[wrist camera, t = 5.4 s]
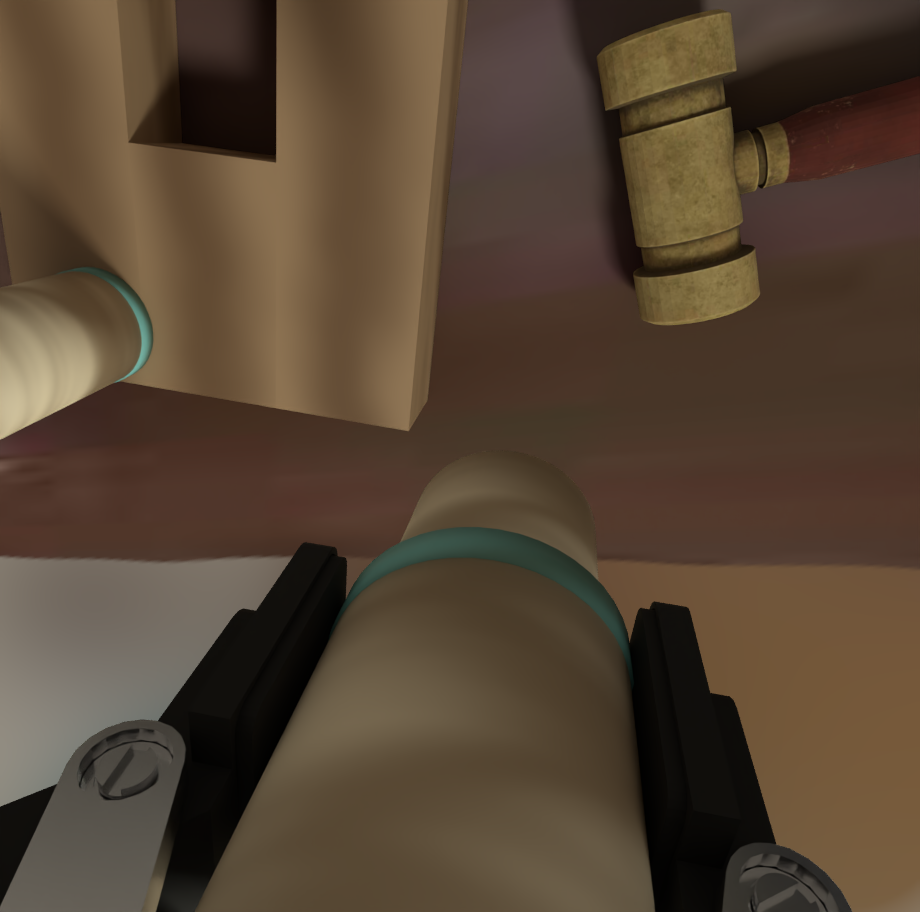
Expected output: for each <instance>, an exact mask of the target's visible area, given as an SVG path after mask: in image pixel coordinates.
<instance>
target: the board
mask: <svg viewBox="0 0 920 912" xmlns="http://www.w3.org/2000/svg"><path fill="white" fill-rule="evenodd" d="M467 6H468V0H277V72H276V156H274V155H267V154H259V153H252V152H244V151H237V150H230V149H222V148H215V147H207V146H200V145H193V144H185V143H182V125H181V105H180V85H179V66H178V46H177V26H176V6H175V0H0V210H1V216H2V223H3V229H4V235H5V241H6V248H7V254H8V260H9V267H10V273H11V279H12V285H11V286H6V287H2V288H0V439H2V438H4V437H6V436H8V435H10V434H12V433H14V432H16V431H18V430H20V429H22V428H24V427H26V426H28V425H30V424H32V423H34V422H36V421H38V420H40V419H42V418H44V417H46V416H48V415H50V414H52V413H54V412H56V411H58V410H60V409H62V408H64V407H66V406H68V405H70V404H72V403H74V402H76V401H78V400H80V399H82V398H84V397H86V396H88V395H90V394H92V393H94V392H96V391H98V390H100V389H102V388H104V387H106V386H108V385H110V384H112V383H115V382H118V381H122V382H128V383H134V384H139V385H145V386H151V387H157V388H163V389H168V390H174V391H180V392H186V393H192V394H197V395H203V396H209V397H215V398H220V399H226V400H232V401H238V402H244V403H249V404H255V405H261V406H267V407H273V408H278V409H284V410H290V411H296V412H302V413H307V414H313V415H319V416H325V417H331V418H336V419H342V420H348V421H354V422H359V423H365V424H371V425H377V426H383V427H388V428H394V429H400V430H406V431H409V429H410V428H411V426H412V425H413V423H414V421H415V420H416V418H417V416H418V415H419V413H420V412H421V410H422V408H423V407H424V405H425V403H426V402H427V399H428V389H429V380H430V370H431V360H432V350H433V340H434V330H435V321H436V311H437V301H438V291H439V281H440V272H441V262H442V252H443V242H444V232H445V222H446V213H447V203H448V193H449V183H450V173H451V164H452V154H453V144H454V134H455V124H456V114H457V105H458V95H459V85H460V75H461V65H462V55H463V46H464V36H465V26H466V16H467Z"/></svg>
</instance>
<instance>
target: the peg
mask: <svg viewBox="0 0 920 912" xmlns="http://www.w3.org/2000/svg"><path fill="white" fill-rule="evenodd" d="M633 686H634V677H633V668H632V659H631V650H630V644H629V638H628V632H627V629H626V627H625V623H624V621H623V618H622V616H621V614H620V612H619V610H618V608H617V606H616V604H615V602H614V600H613V599H612V598H611V596H610V595H609V593H608V592H607V591H606V589H605V588H604V587H603V586H602V584H601V583H600V582H599V581H598V569H597V551H596V533H595V524H594V518H593V515H592V511H591V508H590V506H589V504H588V502H587V500H586V498H585V496H584V495H583V493H582V492H581V490H580V489H579V487H578V486H577V485H576V484H575V483H574V482H573V481H572V480H571V479H570V478H569V477H568V476H567V475H566V474H565V473H563V472H562V471H561V470H559V469H558V468H556V467H555V466H553V465H552V464H550V463H548V462H546V461H544V460H542V459H540V458H537V457H534V456H531V455H528V454H524V453H519V452H513V451H486V452H480V453H475V454H472V455H468V456H465V457H463V458H461V459H458V460H456V461H454V462H453V463H451V464H449V465H448V466H446V467H445V468H443V469H442V470H441V471H440V472H438V473H437V474H436V475H435V476H434V477H433V479H432V480H431V481H430V482H429V483H428V485H427V486H426V488H425V489H424V491H423V493H422V495H421V497H420V499H419V501H418V503H417V506H416V508H415V510H414V513H413V515H412V517H411V519H410V522H409V524H408V526H407V529H406V531H405V533H404V535H403V538H402V540H401V542H400V543H398V544H397V545H395V546H393V547H391V548H389V549H388V550H386V551H385V552H384V553H382V554H381V555H380V556H378V557H377V558H376V559H374V560H373V561H372V562H371V563H370V564H369V565H368V567H366V569H365V570H364V571H363V572H362V573H361V574H360V576H359V577H358V579H357V580H356V582H355V583H354V584H353V586H352V588H351V590H350V592H349V594H348V596H347V598H346V600H345V602H344V604H343V606H342V608H341V610H340V612H339V614H338V616H337V618H336V620H335V622H334V624H333V626H332V629H331V632H330V635H329V639H328V643H327V645H326V647H325V649H324V651H323V653H322V655H321V657H320V659H319V661H318V663H317V666H316V668H315V670H314V672H313V674H312V676H311V678H310V680H309V682H308V684H307V686H306V688H305V690H304V692H303V694H302V696H301V698H300V700H299V702H298V704H297V706H296V708H295V710H294V712H293V714H292V716H291V718H290V720H289V722H288V724H287V726H286V728H285V730H284V732H283V734H282V736H281V738H280V740H279V742H278V744H277V746H276V748H275V750H274V752H273V754H272V756H271V758H270V760H269V762H268V764H267V766H266V768H265V770H264V772H263V774H262V777H261V779H260V781H259V783H258V785H257V787H256V789H255V791H254V793H253V795H252V797H251V799H250V801H249V803H248V805H247V807H246V809H245V811H244V813H243V815H242V817H241V819H240V821H239V823H238V825H237V827H236V829H235V831H234V833H233V835H232V837H231V839H230V841H229V843H228V845H227V847H226V849H225V851H224V853H223V855H222V857H221V859H220V861H219V863H218V865H217V867H216V869H215V871H214V873H213V875H212V877H211V879H210V881H209V883H208V885H207V888H206V890H205V892H204V894H203V896H202V898H201V900H200V902H199V904H198V906H197V908H196V910H195V912H655V906H654V896H653V887H652V877H651V868H650V859H649V849H648V840H647V830H646V821H645V812H644V802H643V793H642V783H641V774H640V765H639V755H638V746H637V736H636V727H635V717H634V708H633V699H632V689H633Z"/></svg>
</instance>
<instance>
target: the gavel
mask: <svg viewBox="0 0 920 912" xmlns="http://www.w3.org/2000/svg"><path fill="white" fill-rule="evenodd" d="M597 63H598V69H599V75H600V81H601V87H602V93H603V98H604V104H605V110H614V109H619V115H620V121H621V127H622V133H623V136H622V137H621V138H620V139H619V142H620V148H621V154H622V160H623V166H624V172H625V179H626V185H627V191H628V197H629V203H630V209H631V215H632V221H633V227H634V233H635V240H636V245H637V246H638V247H641V251H642V257H643V263H644V266H642V267H640V268H638V269H637V270H636V271H634V273H633V277H634V283H635V289H636V295H637V301H638V307H639V313H640V318H641V319H642V320H644V321H647V322H649V323H652V324H658V325H679V324H688V323H695V322H701V321H705V320H710V319H714V318H718V317H722V316H725V315H728V314H731V313H734V312H737V311H739V310H741V309H743V308H745V307H747V306H748V305H750V304H751V303H752V302H754V301H755V300H756V299H757V298H758V297H759V295H760V291H759V282H758V272H757V262H756V253H755V247H754V246H751V245H742V244H741V239H740V230H739V224H741V223H742V222H743V215H742V206H741V197H740V195H741V194H745V193H749V192H753V191H755V190H756V188H757V185H758V186H759V187H760V188H765V187H769V186H773V185H777V184H781V183H788V182H799V181H809V180H819V179H823V178H827V177H830V176H834V175H838V174H842V173H846V172H850V171H853V170H857V169H861V168H865V167H869V166H873V165H877V164H880V163H884V162H888V161H892V160H896V159H900V158H903V157H907V156H911V155H915V154H919V153H920V76H918V77H915V78H911V79H907V80H904V81H900V82H897V83H893V84H890V85H886V86H882V87H879V88H875V89H872V90H868V91H864V92H861V93H857V94H854V95H850V96H847V97H843V98H839V99H836V100H832V101H829V102H825V103H821V104H818V105H814V106H811V107H809V108H807V109H805V110H803V111H800V112H798V113H796V114H794V115H792V116H789V117H787V118H785V119H783V120H781V121H778V122H776V123H772V124H769V125H765V126H761V127H758V128H755V129H754V130H753V131H752V134H751V133H750V131H749V130H744V131H740V132H737V133H734V132H733V123H732V113H731V107H726V103H725V94H724V85H723V77H725V76H727V75H730V74H732V73H734V72H736V71H737V69H736V59H735V49H734V40H733V30H732V20H731V14H730V13H729V12H726V11H724V10H720V9H718V10H710V11H705V12H701V13H697V14H693V15H689V16H685V17H682V18H679V19H675V20H672V21H669V22H666V23H663V24H659V25H657V26H654V27H651V28H648V29H645V30H643V31H640V32H637V33H635V34H632V35H630V36H627V37H625V38H622V39H620V40H618V41H616V42H614V43H612V44H610V45H608V46H606V47H605V48H604V49H603V50H602V51H601V52H600V53H599V55H598V56H597Z"/></svg>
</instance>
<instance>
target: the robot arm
mask: <svg viewBox="0 0 920 912" xmlns="http://www.w3.org/2000/svg"><path fill="white" fill-rule="evenodd" d="M346 576H347V560H346V558H345V557H339V556H337V549H336V548H335V547H330V546H324V545H318V544H313V543H307V542H305V543H303V544H302V545H301V546H300V547H299V549H298V550H297V552H296V553H295V555H294V556H293V558H292V559H291V560H290V562H289V563H288V565H287V566H286V568H285V569H284V571H283V572H282V574H281V575H280V577H279V578H278V579H277V581H276V582H275V584H274V585H273V587H272V588H271V590H270V591H269V593H268V594H267V596H266V597H265V599H264V600H263V602H262V603H261V605H260V606H259V607H258V609H257V610H256V611H254V610H248V609H241V610H239V611H238V612H237V613H236V614H235V615H234V616H233V618H232V619H231V620H230V622H229V623H228V625H227V626H226V627H225V629H224V630H223V632H222V633H221V634H220V636H219V637H218V639H217V640H216V641H215V643H214V644H213V645H212V647H211V648H210V650H209V651H208V652H207V654H206V655H205V656H204V658H203V659H202V661H201V662H200V663H199V665H198V666H197V667H196V669H195V670H194V672H193V673H192V674H191V676H190V677H189V678H188V680H187V681H186V683H185V684H184V686H183V687H182V688H181V690H180V691H179V692H178V694H177V695H176V696H175V698H174V699H173V701H172V702H171V703H170V705H169V706H168V708H167V709H166V710H165V712H164V713H163V714H162V716H161V717H160V719H159V720H158V721H152V720H135V721H127V722H123V723H120V724H117V725H114V726H111V727H108V728H106V729H104V730H102V731H100V732H99V733H97V734H95V735H93V736H92V737H90V738H89V739H88V740H87V741H85V742H84V743H83V744H82V745H81V746H80V747H79V748H78V749H77V750H76V751H75V752H74V754H73V755H72V757H71V758H70V760H69V761H68V763H67V764H66V767H65V769H64V771H63V773H62V776H61V777H60V779H59V782H58V784H56V785H54V786H51V787H48V788H46V789H43V790H41V791H38V792H36V793H33V794H31V795H28V796H26V797H23V798H21V799H18V800H16V801H13V802H11V803H9V804H6V805H3V806H1V807H0V912H195V910H196V908H197V906H198V904H199V902H200V900H201V898H202V896H203V894H204V892H205V890H206V888H207V885H208V883H209V881H210V879H211V877H212V875H213V873H214V871H215V869H216V867H217V865H218V863H219V861H220V859H221V857H222V855H223V853H224V851H225V849H226V847H227V845H228V843H229V841H230V839H231V837H232V835H233V833H234V831H235V829H236V827H237V825H238V823H239V821H240V819H241V817H242V815H243V813H244V811H245V809H246V807H247V805H248V803H249V801H250V799H251V797H252V795H253V793H254V791H255V789H256V787H257V785H258V783H259V781H260V779H261V777H262V774H263V772H264V770H265V768H266V766H267V764H268V762H269V760H270V758H271V756H272V754H273V752H274V750H275V748H276V746H277V744H278V742H279V740H280V738H281V736H282V734H283V732H284V730H285V728H286V726H287V724H288V722H289V720H290V718H291V716H292V714H293V712H294V710H295V708H296V706H297V704H298V702H299V700H300V698H301V696H302V694H303V692H304V690H305V688H306V686H307V684H308V682H309V680H310V678H311V676H312V674H313V672H314V670H315V668H316V666H317V663H318V661H319V659H320V657H321V655H322V653H323V651H324V649H325V647H326V645H327V643H328V639H329V635H330V632H331V629H332V626H333V624H334V622H335V620H336V618H337V616H338V614H339V612H340V610H341V608H342V606H343V604H344V602H345V600H346ZM629 644H630V650H631V659H632V668H633V677H634V686H633V689H632V699H633V708H634V717H635V727H636V736H637V746H638V755H639V765H640V774H641V783H642V793H643V802H644V812H645V821H646V830H647V840H648V849H649V859H650V868H651V877H652V887H653V896H654V906H655V912H852V910H851V908H850V906H849V905H848V902H847V901H846V899H845V897H844V895H843V893H842V891H841V890H840V889H839V888H838V887H837V885H836V884H835V883H834V882H833V881H832V879H831V878H830V877H829V876H828V875H827V874H826V873H825V872H824V871H823V870H822V869H820V868H819V867H818V866H817V865H816V864H814V863H813V862H812V861H810V860H809V859H808V858H806V857H804V856H802V855H801V854H799V853H797V852H795V851H793V850H791V849H790V848H786V847H783V846H779V845H776V842H775V838H774V835H773V832H772V828H771V824H770V821H769V817H768V814H767V811H766V807H765V804H764V800H763V797H762V793H761V790H760V786H759V783H758V779H757V776H756V773H755V769H754V766H753V762H752V759H751V755H750V752H749V749H748V745H747V742H746V738H745V735H744V732H743V728H742V724H741V721H740V717H739V714H738V711H737V707H736V705H735V703H734V700H733V699H732V698H731V697H730V696H724V695H718V694H712V693H710V690H709V686H708V682H707V678H706V675H705V670H704V666H703V663H702V658H701V654H700V650H699V646H698V642H697V638H696V634H695V631H694V626H693V622H692V618H691V614H690V611H689V609H688V608H687V607H683V606H678V605H672V604H665V603H660V602H653V603H652V605H651V606H650V610H649V609H643V608H640V609H639V610H638V613H637V616H636V620H635V624H634V628H633V632H632V635H631V639H630V643H629Z"/></svg>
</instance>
